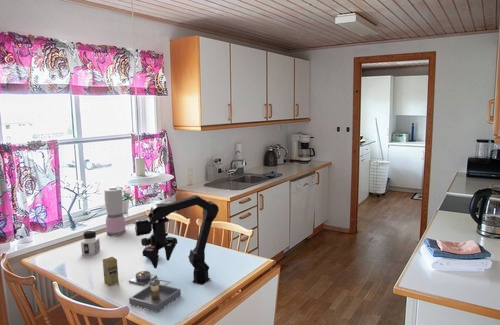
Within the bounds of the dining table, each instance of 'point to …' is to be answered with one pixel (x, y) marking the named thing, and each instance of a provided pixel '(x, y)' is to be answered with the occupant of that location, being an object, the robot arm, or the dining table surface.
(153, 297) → the gold cylinder with rim
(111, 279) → the shoe polish box
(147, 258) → the cupcake
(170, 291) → the tray
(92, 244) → the container
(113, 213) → the blender
